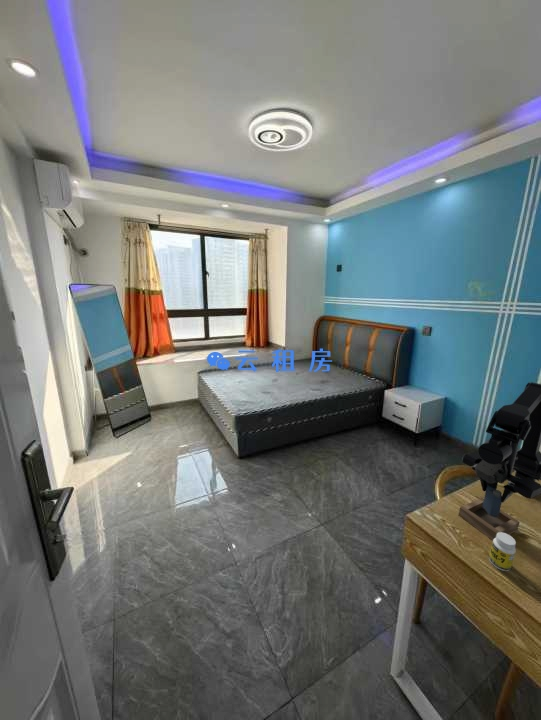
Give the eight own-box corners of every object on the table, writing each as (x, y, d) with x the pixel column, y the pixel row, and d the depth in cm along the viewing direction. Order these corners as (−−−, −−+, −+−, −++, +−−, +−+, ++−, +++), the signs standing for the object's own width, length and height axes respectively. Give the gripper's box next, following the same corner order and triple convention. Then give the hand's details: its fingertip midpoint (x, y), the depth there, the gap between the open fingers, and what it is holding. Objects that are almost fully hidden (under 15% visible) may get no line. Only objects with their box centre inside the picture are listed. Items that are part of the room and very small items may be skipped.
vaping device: (489, 505, 92) (496, 472, 89) (500, 518, 87) (508, 484, 84) (480, 504, 92) (487, 472, 89) (490, 517, 87) (498, 483, 84)
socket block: (480, 505, 98) (481, 497, 97) (517, 529, 88) (519, 521, 87) (458, 515, 94) (459, 507, 93) (495, 542, 84) (497, 533, 83)
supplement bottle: (484, 558, 79) (490, 533, 77) (495, 552, 81) (502, 528, 78) (503, 574, 75) (510, 548, 72) (515, 568, 76) (522, 542, 74)
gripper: (454, 441, 90) (446, 484, 94) (525, 477, 73) (512, 528, 77) (477, 434, 94) (469, 475, 98) (549, 466, 77) (535, 514, 81)
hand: (493, 496), depth 88 cm, fingers closed on vaping device, 5 cm apart
